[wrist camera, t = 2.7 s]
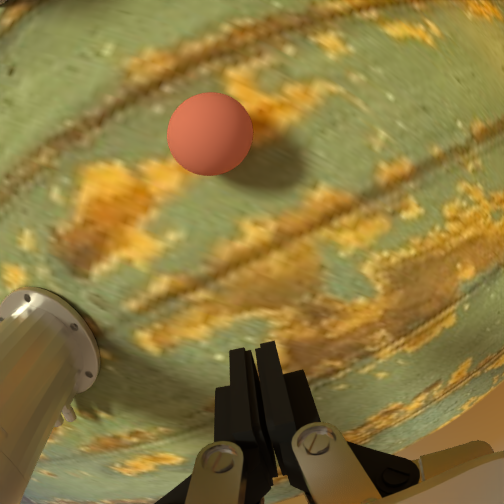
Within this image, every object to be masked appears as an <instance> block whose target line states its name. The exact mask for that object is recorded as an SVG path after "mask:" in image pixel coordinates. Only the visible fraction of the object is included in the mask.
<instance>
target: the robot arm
mask: <svg viewBox="0 0 504 504" xmlns="http://www.w3.org/2000/svg"><path fill="white" fill-rule="evenodd" d="M260 347H261V348H257V349H255V351H256V358H257V365H258V372H259V377H258V373H257V370H256V366H255V363H254V359H253V356H252V352H251V350H248V351H245V348H239V349H234V350H230V351H229V357H230V386H224V387H218V388H216V390H215V423H214V443H211V444H208V445H207V446H205V447H204V448H203V449H202V450H201V451H200V452H199V453H198V455H197V457H196V460H195V464H194V468H193V473H192V474H191V475H190V476H189V477H188V478H186V479H185V480H184V481H183V482H182V483H180V484H179V485H178V486H177V487H175V488H174V489H173V490H171V491H170V492H169V493H168V494H166V495H165V496H164V497H162V498H161V499H160V500H158V501H157V502H156V503H154V504H264V502H265V501H264V496H265V495H266V493H267V492H268V491H269V490H270V489H271V486H273V479H272V478H273V477H278V473H277V467H276V461H275V455H274V451H275V454H276V457H277V460H278V463H279V466H280V469H281V472H282V475H283V476H284V475H288V479H289V482H290V485H292V486H294V487H296V488H298V489H300V490H302V491H303V493H304V495H305V497H306V499H307V502H308V504H504V451H500V452H495V453H494V451H493V449H492V447H491V446H490V445H489V444H488V443H486V442H484V441H479V440H478V441H472V442H469V443H466V444H463V445H459V446H456V447H453V448H450V449H446V450H443V451H439V452H435V453H431V454H427V455H423V456H420V459H417V460H412V461H411V460H408V459H406V458H402V457H398V456H395V455H391V454H387V453H384V452H380V451H377V450H373V449H370V448H367V447H363V446H360V445H357V444H354V443H351V442H348V441H346V440H345V439H344V437H343V436H342V434H341V432H340V431H339V430H338V429H337V428H336V427H335V426H333V425H331V424H330V423H325V422H321V421H320V418H319V415H318V412H317V409H316V406H315V403H314V400H313V397H312V394H311V391H310V388H309V385H308V382H307V379H306V376H305V373H304V371H303V370H299V371H295V372H291V373H287V374H283V373H282V369H281V365H280V361H279V357H278V353H277V349H276V345H275V341H271V342H267V343H262V344H260ZM99 370H100V352H99V349H98V345H97V342H96V340H95V338H94V336H93V333H92V331H91V330H90V328H89V327H88V325H87V324H86V322H85V321H84V320H83V318H82V317H81V316H80V315H79V314H78V312H77V311H76V310H75V309H74V308H72V307H71V306H70V305H69V304H68V303H67V302H66V301H64V300H63V299H61V298H60V297H59V296H57V295H55V294H53V293H51V292H49V291H47V290H44V289H41V288H38V287H22V288H18V289H16V290H14V291H13V292H11V293H10V294H9V295H8V296H6V297H5V299H4V300H3V301H2V303H1V305H0V504H20V502H21V499H22V497H23V494H24V492H25V489H26V487H27V485H28V483H29V480H30V478H31V475H32V473H33V471H34V469H35V466H36V464H37V462H38V460H39V457H40V455H41V453H42V451H43V449H44V446H45V444H46V442H47V440H48V438H49V436H50V434H51V432H52V430H53V428H54V427H58V426H60V425H62V424H63V421H64V419H63V417H62V415H61V412H62V413H63V415H64V417H65V419H66V420H67V421H68V422H72V421H74V420H75V419H76V414H75V412H74V410H73V408H72V407H71V405H70V404H71V402H72V400H73V398H74V396H75V394H80V393H82V392H84V391H86V390H88V389H89V388H90V387H91V386H92V385H93V383H94V381H95V380H96V378H97V375H98V373H99ZM259 379H260V380H259ZM273 448H274V449H273Z"/></svg>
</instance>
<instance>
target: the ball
mask: <svg viewBox="0 0 504 504" xmlns="http://www.w3.org/2000/svg"><path fill="white" fill-rule="evenodd" d="M252 139H253V127H252V122H251V119H250V117H249V115H248V113H247V111H246V110H245V108H244V107H243V106H242V105H241V104H240V103H239V102H238V101H236V100H235V99H233V98H232V97H229V96H227V95H224V94H221V93H210V92H209V93H202V94H198V95H195V96H193V97H191V98H189V99H187V100H186V101H184V102H183V103H182V104H181V105H180V106H179V107H178V108H177V109H176V110H175V112H174V113H173V115H172V117H171V119H170V122H169V125H168V130H167V140H168V145H169V149H170V151H171V153H172V155H173V157H174V158H175V160H176V161H177V162H178V163H179V164H180V165H181V166H182V167H184V168H185V169H187V170H188V171H190V172H193V173H195V174H199V175H204V176H213V175H219V174H223V173H226V172H228V171H230V170H232V169H233V168H235V167H236V166H237V165H239V164H240V163H241V162H242V161H243V159H244V158H245V157H246V155H247V154H248V152H249V150H250V147H251V144H252Z"/></svg>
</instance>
